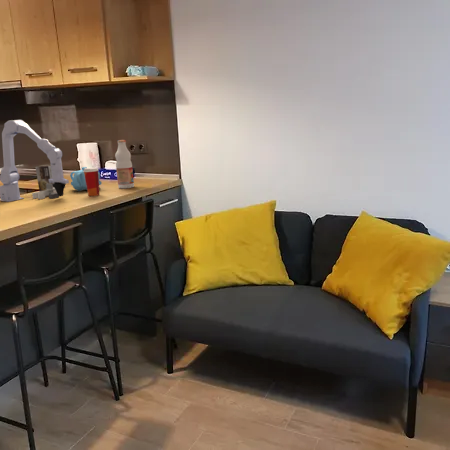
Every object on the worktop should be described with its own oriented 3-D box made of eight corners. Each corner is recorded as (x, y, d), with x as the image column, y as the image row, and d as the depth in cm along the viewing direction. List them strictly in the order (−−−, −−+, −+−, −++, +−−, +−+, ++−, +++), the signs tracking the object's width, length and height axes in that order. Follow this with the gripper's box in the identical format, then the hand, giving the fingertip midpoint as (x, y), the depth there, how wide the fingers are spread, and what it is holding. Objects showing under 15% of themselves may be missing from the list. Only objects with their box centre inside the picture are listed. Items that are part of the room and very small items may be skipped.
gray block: (52, 199, 254) (52, 194, 254) (49, 198, 256) (48, 194, 256) (59, 197, 257) (58, 193, 257) (55, 197, 259) (54, 192, 259)
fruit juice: (116, 187, 281) (111, 140, 274) (130, 185, 286) (126, 139, 279) (121, 189, 273) (116, 141, 266) (136, 187, 278) (132, 139, 271)
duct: (39, 199, 254) (38, 193, 253) (32, 198, 257) (32, 193, 256) (63, 194, 267) (63, 188, 266) (57, 193, 270) (56, 188, 269)
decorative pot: (103, 189, 275) (101, 167, 272) (76, 193, 268) (73, 169, 265) (97, 186, 289) (94, 164, 286) (70, 189, 282) (67, 167, 279)
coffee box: (58, 191, 277) (55, 164, 273) (52, 193, 271) (48, 166, 267) (45, 191, 280) (41, 164, 276) (39, 193, 274) (34, 166, 270)
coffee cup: (95, 193, 264) (92, 167, 260) (104, 194, 259) (101, 167, 255) (83, 195, 258) (79, 169, 254) (91, 197, 253) (88, 169, 249)
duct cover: (52, 190, 260) (51, 184, 260) (46, 189, 263) (45, 183, 262) (65, 187, 268) (64, 181, 267) (59, 187, 270) (58, 181, 270)
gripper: (72, 170, 249) (75, 195, 252) (55, 169, 257) (58, 194, 260) (61, 172, 243) (64, 197, 247) (44, 171, 251) (47, 196, 255)
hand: (60, 196), depth 253 cm, fingers closed
